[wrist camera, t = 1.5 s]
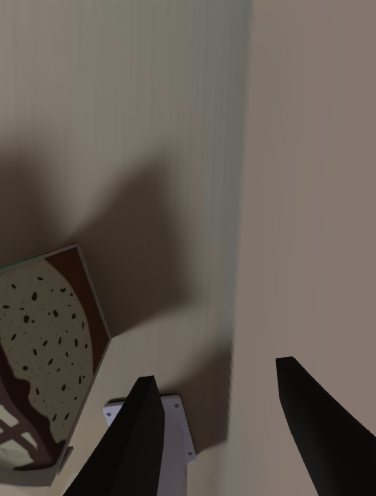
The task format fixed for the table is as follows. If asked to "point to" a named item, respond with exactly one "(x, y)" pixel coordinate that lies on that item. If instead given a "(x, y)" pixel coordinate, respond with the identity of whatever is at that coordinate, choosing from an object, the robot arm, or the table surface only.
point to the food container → (46, 362)
